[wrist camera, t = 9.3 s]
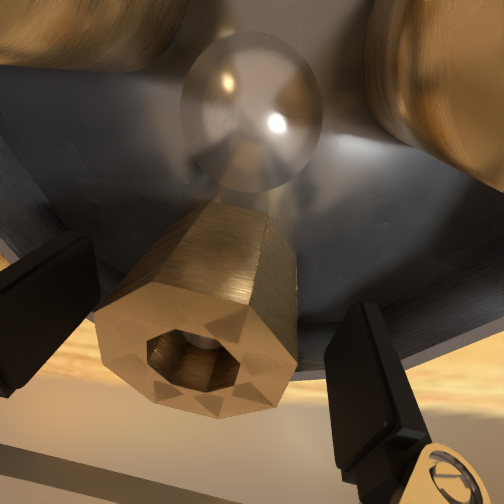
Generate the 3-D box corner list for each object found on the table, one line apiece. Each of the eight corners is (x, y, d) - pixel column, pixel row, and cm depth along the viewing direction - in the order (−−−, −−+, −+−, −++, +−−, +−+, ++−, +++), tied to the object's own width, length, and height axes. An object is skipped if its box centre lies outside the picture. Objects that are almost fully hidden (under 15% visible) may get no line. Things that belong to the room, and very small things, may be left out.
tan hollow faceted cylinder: (171, 189, 10) (83, 264, 6) (308, 223, 10) (319, 322, 6) (167, 293, 13) (107, 391, 9) (274, 319, 13) (264, 430, 9)
